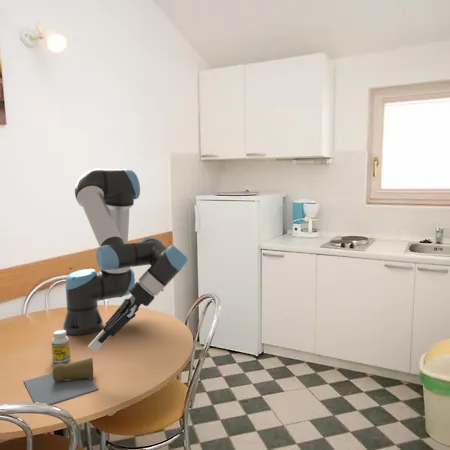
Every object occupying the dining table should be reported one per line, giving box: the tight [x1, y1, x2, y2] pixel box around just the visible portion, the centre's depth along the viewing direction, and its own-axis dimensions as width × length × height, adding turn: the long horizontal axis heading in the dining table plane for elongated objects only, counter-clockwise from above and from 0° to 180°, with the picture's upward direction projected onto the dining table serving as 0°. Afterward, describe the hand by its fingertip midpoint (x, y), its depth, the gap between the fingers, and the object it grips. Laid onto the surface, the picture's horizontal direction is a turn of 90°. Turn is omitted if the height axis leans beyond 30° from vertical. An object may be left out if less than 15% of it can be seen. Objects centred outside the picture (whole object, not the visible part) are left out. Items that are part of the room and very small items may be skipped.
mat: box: [23, 372, 99, 405], centre depth 116 cm, size 18×16×1 cm
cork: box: [52, 357, 94, 382], centre depth 119 cm, size 6×6×11 cm
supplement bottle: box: [51, 329, 71, 364], centre depth 133 cm, size 5×5×10 cm
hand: (91, 348), depth 120 cm, fingers closed
